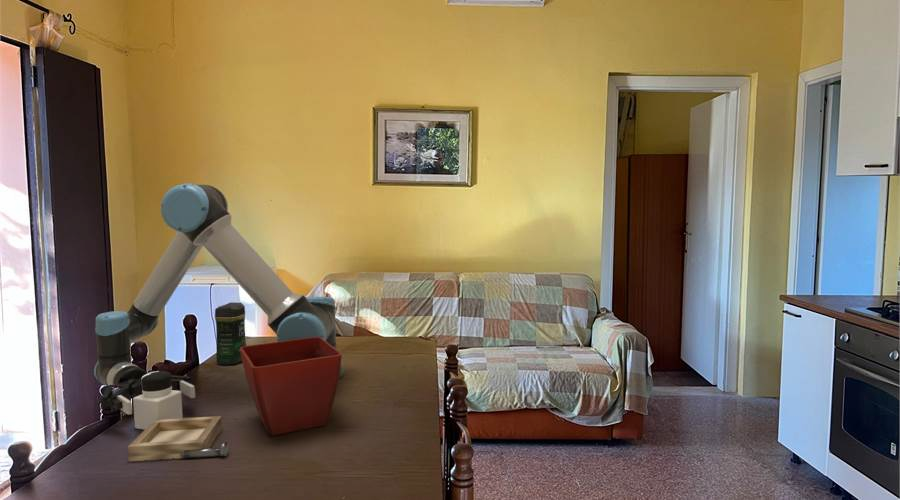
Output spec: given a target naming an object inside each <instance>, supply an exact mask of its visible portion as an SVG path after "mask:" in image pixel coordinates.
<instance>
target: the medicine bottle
mask: <svg viewBox="0 0 900 500" xmlns="http://www.w3.org/2000/svg"><path fill="white" fill-rule="evenodd" d="M171 375H172V373H171V372H169V371H165V370H157V371H156V370H155V371H151V372H147V374H146V375H144V376H143V377H142V378H141V380H142V393H143V394H142V395H139V396H137V397H134V398H133V399H132V404H133V405H132V406H133V416H134V417H133V419H134V429H138V430H143V431H144V430H145V429H146V428H147V427H148V426H149V425H150V424H151V423H152V422H153V421H154V420H160V419H177V418H184V417H183V400H182V397H183V396H182V393H181V391H180V390H171V389H172V380H171Z"/></svg>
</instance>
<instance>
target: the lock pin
mask: <svg viewBox="0 0 900 500" xmlns="http://www.w3.org/2000/svg"><path fill="white" fill-rule="evenodd" d="M228 454H229V443H228V441H226V442H225V441H224V442H221V443H220V446H219V447H210V448H207V449H196V450H183V451H182V452H181V453H180V456H181V457H182V458H181V459H195V458H210V457H211V458H213V457H227V456H228Z"/></svg>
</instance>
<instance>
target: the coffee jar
mask: <svg viewBox="0 0 900 500" xmlns="http://www.w3.org/2000/svg"><path fill="white" fill-rule="evenodd" d="M214 320H215V330H216V350H215V351H216V354H215V355H216V356H215V357H216V361H215V362H216V363H217V364H219V365H223V366H230V365H236V364H239V363H241V362H242V357H241V352H240V347H243V346H247V339H246V329H245V328H246V327H245V326H246V323H245V322H246V321H245V320H246V306H245V305H244V303H242V302H234V301H233V302H229V303H226V304H223V305H220V306H218V307H216V308H215V309H214Z"/></svg>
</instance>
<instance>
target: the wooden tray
mask: <svg viewBox="0 0 900 500" xmlns="http://www.w3.org/2000/svg"><path fill="white" fill-rule="evenodd" d="M222 429H223V423H222V416H221V415H218V416H217V415H215V416H201V417H199V416H198V417H197V416H196V417H183V418H177V419H160V420H154V421H153V422H152V423H151V424H150V425H149V426H148V427H147V428H146V429H145V430H143V431H142V432H141V433H140V434H139V435H138V436H137V437H136V438H135V439H134V440H133V441H132V442H131V443H130V444H129V445H128V446H127V453H128V454H127V456H128V462H143V461H145V460H146V461H158V460H161V459H162V460H174V459H175V460H176V459H183V458H182V457H181V456H180V453H181V452H182V451H183V450H196V449H207V448H211V446H212V445H213V443H214V442H215V440H216V439H217V437H218V436H219V434H220V433H221V431H222ZM173 458H174V459H173Z"/></svg>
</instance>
